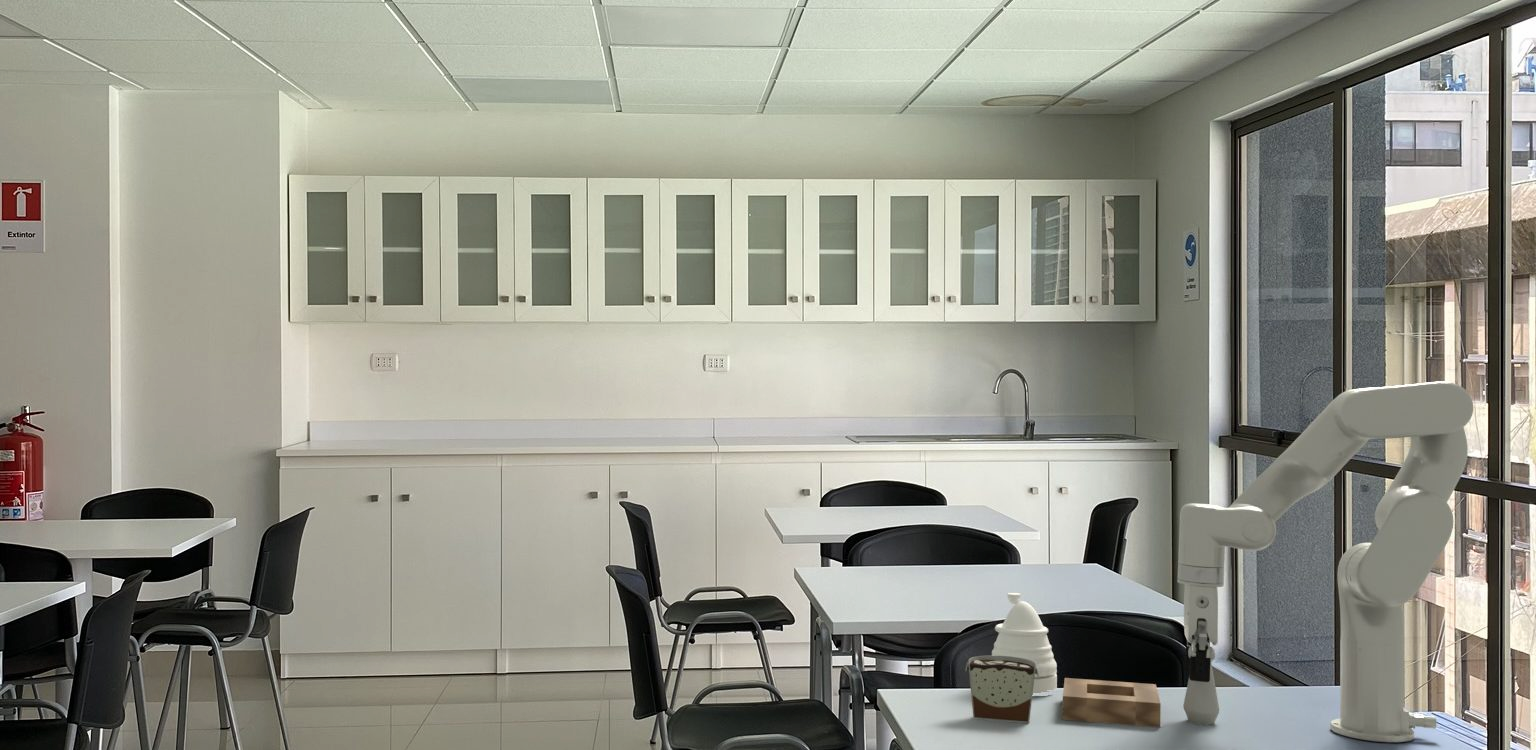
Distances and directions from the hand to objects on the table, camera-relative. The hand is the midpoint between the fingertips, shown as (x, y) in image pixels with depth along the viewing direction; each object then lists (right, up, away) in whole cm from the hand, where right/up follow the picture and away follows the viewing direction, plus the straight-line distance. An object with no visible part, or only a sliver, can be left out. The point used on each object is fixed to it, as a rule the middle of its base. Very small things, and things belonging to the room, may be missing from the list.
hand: (1197, 675), depth 210 cm
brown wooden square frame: (-14, -8, +5) cm, 16 cm away
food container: (-33, -7, 0) cm, 34 cm away
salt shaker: (0, -8, 0) cm, 8 cm away
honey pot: (-25, -9, +23) cm, 35 cm away
